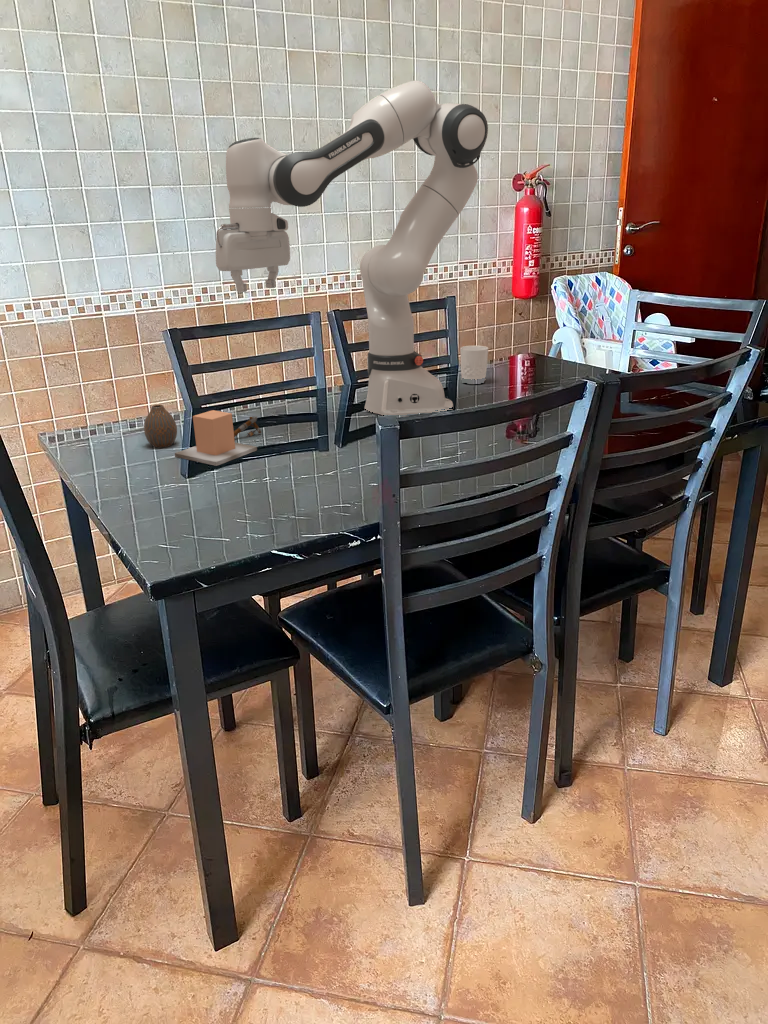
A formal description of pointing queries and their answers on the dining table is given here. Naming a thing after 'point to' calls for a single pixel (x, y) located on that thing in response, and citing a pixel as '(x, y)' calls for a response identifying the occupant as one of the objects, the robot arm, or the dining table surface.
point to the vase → (160, 427)
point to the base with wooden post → (216, 459)
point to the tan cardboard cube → (214, 432)
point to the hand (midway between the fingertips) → (256, 290)
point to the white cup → (474, 362)
